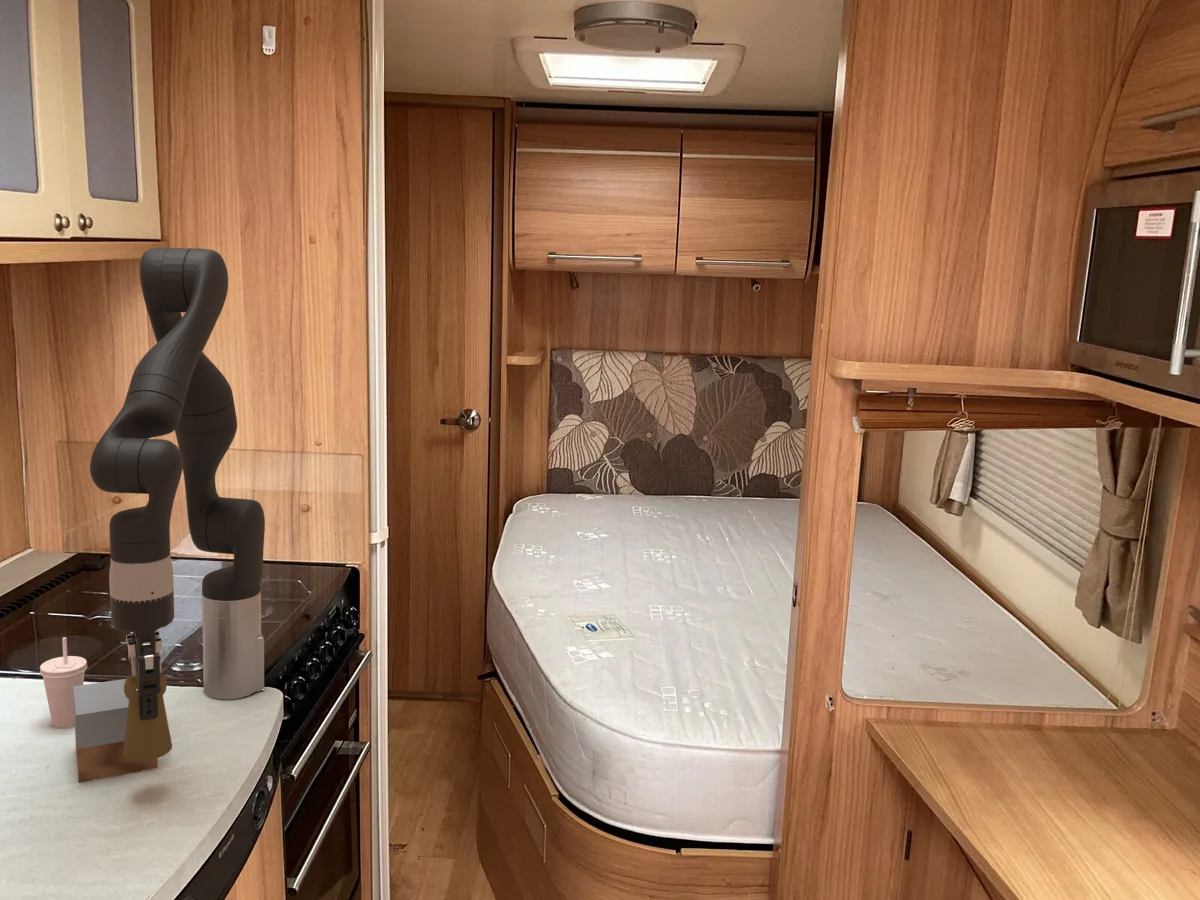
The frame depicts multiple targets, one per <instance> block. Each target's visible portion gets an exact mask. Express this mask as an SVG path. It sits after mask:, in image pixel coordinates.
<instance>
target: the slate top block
mask: <svg viewBox="0 0 1200 900" xmlns="http://www.w3.org/2000/svg"><path fill="white" fill-rule="evenodd" d="M126 679H127V678H123V679H115V680H109V681H108V680H107V681H103V682H96V683H95V682H94V683H87V684H83V685H79V686H73V694H74V718H75V725H74V731H75V730H76V741H77V749H81V748H87V747H93V746H99V745H105V744H111V743H116V742H122V741H124V740H125V731H126V722H127V713H128V705H129V699H128V698H127V697H126V696H125V693H124V684H125V681H126Z"/></svg>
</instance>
